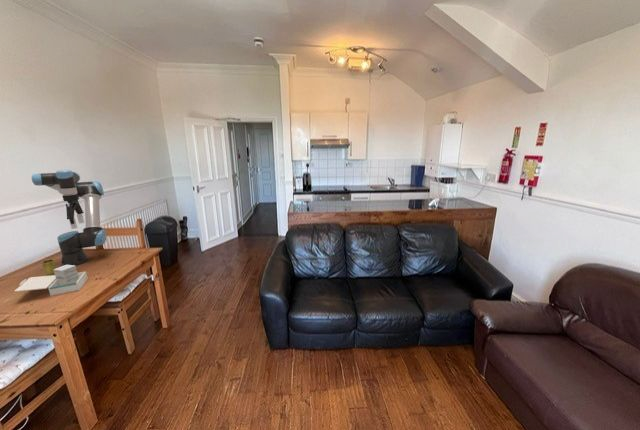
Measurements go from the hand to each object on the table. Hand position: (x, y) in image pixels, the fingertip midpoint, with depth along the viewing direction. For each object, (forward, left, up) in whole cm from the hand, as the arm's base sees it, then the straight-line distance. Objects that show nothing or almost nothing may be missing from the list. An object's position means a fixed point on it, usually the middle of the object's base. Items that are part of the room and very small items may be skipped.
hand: (78, 225), depth 176 cm
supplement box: (+23, -4, -32) cm, 40 cm away
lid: (+23, -17, -25) cm, 38 cm away
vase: (+9, -16, -33) cm, 38 cm away
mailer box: (+23, -4, -33) cm, 40 cm away
